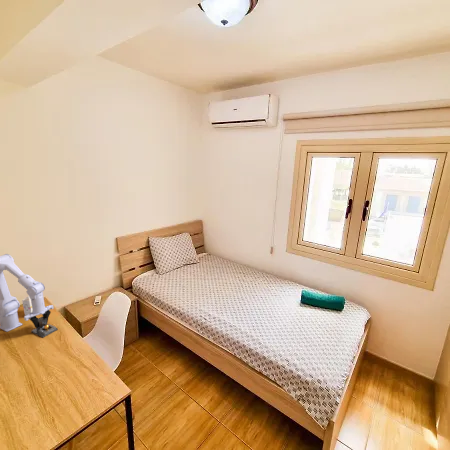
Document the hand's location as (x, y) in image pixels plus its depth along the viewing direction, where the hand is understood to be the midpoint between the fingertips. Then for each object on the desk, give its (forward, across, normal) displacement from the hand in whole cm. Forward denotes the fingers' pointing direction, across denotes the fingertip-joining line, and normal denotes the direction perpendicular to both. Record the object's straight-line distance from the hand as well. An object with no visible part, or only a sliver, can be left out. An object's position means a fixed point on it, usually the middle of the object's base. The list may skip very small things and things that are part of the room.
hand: (41, 325), depth 144 cm
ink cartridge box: (+3, +8, +24) cm, 25 cm away
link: (+2, 0, -3) cm, 4 cm away
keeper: (+3, 0, -2) cm, 4 cm away
